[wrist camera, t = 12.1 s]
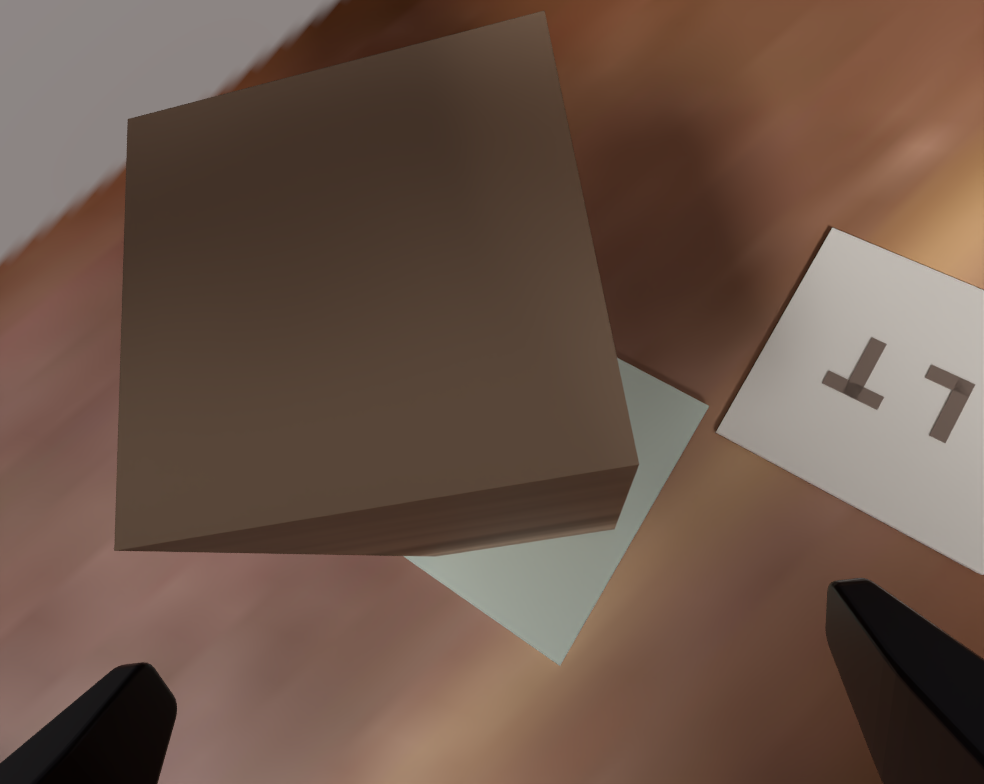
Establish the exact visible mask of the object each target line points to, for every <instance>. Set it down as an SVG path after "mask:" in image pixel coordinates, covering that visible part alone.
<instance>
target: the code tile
mask: <svg viewBox="0 0 984 784" xmlns="http://www.w3.org/2000/svg"><path fill="white" fill-rule="evenodd" d="M716 433H717V434H719V435H721V436H723V437H725V438H726V439H728V440H730V441H732V442H734V443H736V444H738V445H739V446H741V447H743V448H745V449H747V450H749V451H751V452H753V453H754V454H756V455H758V456H760V457H762V458H764V459H766V460H767V461H769V462H771V463H773V464H775V465H777V466H779V467H780V468H782V469H784V470H786V471H788V472H790V473H792V474H794V475H795V476H797V477H799V478H801V479H803V480H805V481H807V482H808V483H810V484H812V485H814V486H816V487H818V488H820V489H821V490H823V491H825V492H827V493H829V494H831V495H833V496H835V497H836V498H838V499H840V500H842V501H844V502H846V503H848V504H849V505H851V506H853V507H855V508H857V509H859V510H861V511H863V512H864V513H866V514H868V515H870V516H872V517H874V518H876V519H877V520H879V521H881V522H883V523H885V524H887V525H889V526H890V527H892V528H894V529H896V530H898V531H900V532H902V533H904V534H905V535H907V536H909V537H911V538H913V539H915V540H917V541H918V542H920V543H922V544H924V545H926V546H928V547H930V548H931V549H933V550H935V551H937V552H939V553H941V554H943V555H945V556H946V557H948V558H950V559H952V560H954V561H956V562H958V563H959V564H961V565H963V566H965V567H967V568H969V569H971V570H973V571H974V572H976V573H978V574H980V575H984V290H982V289H979V288H977V287H975V286H972V285H970V284H967V283H965V282H962V281H960V280H958V279H955V278H953V277H950V276H948V275H946V274H943V273H941V272H938V271H936V270H934V269H931V268H929V267H926V266H924V265H921V264H919V263H917V262H914V261H912V260H909V259H907V258H905V257H902V256H900V255H897V254H895V253H893V252H890V251H888V250H885V249H883V248H880V247H878V246H876V245H873V244H871V243H868V242H866V241H864V240H861V239H859V238H856V237H854V236H852V235H849V234H847V233H844V232H842V231H839V230H837V229H835V228H832V229H831V231H830V232H829V234H828V236H827V238H826V239H825V241H824V243H823V245H822V246H821V248H820V250H819V252H818V253H817V255H816V257H815V259H814V260H813V262H812V264H811V266H810V267H809V269H808V271H807V273H806V274H805V276H804V278H803V280H802V282H801V283H800V285H799V287H798V289H797V290H796V292H795V294H794V296H793V297H792V299H791V301H790V303H789V304H788V306H787V308H786V310H785V311H784V313H783V315H782V317H781V318H780V320H779V322H778V324H777V325H776V327H775V329H774V331H773V332H772V334H771V336H770V338H769V339H768V341H767V343H766V345H765V346H764V348H763V350H762V352H761V354H760V355H759V357H758V359H757V361H756V362H755V364H754V366H753V368H752V369H751V371H750V373H749V375H748V376H747V378H746V380H745V382H744V383H743V385H742V387H741V389H740V390H739V392H738V394H737V396H736V397H735V399H734V401H733V403H732V404H731V406H730V408H729V410H728V411H727V413H726V415H725V417H724V419H723V420H722V422H721V424H720V426H719V427H718V429H717V431H716Z"/></svg>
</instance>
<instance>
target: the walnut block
mask: <svg viewBox="0 0 984 784" xmlns="http://www.w3.org/2000/svg"><path fill="white" fill-rule="evenodd" d="M638 466H639V461H638V456H637V451H636V446H635V442H634V437H633V432H632V427H631V423H630V418H629V413H628V408H627V403H626V399H625V394H624V389H623V384H622V379H621V375H620V370H619V365H618V360H617V356H616V351H615V346H614V341H613V336H612V332H611V327H610V322H609V317H608V312H607V308H606V303H605V298H604V293H603V289H602V284H601V279H600V274H599V269H598V265H597V260H596V255H595V250H594V246H593V241H592V236H591V231H590V226H589V222H588V217H587V212H586V207H585V202H584V198H583V193H582V188H581V183H580V179H579V174H578V169H577V164H576V159H575V155H574V150H573V145H572V140H571V135H570V131H569V126H568V121H567V116H566V112H565V107H564V102H563V97H562V92H561V88H560V83H559V78H558V73H557V69H556V64H555V59H554V54H553V49H552V45H551V40H550V35H549V30H548V25H547V21H546V16H545V11H541V12H537V13H534V14H530V15H526V16H522V17H518V18H514V19H511V20H507V21H503V22H499V23H495V24H491V25H488V26H484V27H480V28H476V29H472V30H468V31H464V32H461V33H457V34H453V35H449V36H445V37H441V38H438V39H434V40H430V41H426V42H422V43H418V44H415V45H411V46H407V47H403V48H399V49H395V50H392V51H388V52H384V53H380V54H376V55H372V56H369V57H365V58H361V59H357V60H353V61H349V62H345V63H342V64H338V65H334V66H330V67H326V68H322V69H319V70H315V71H311V72H307V73H303V74H299V75H296V76H292V77H288V78H284V79H280V80H276V81H273V82H269V83H265V84H261V85H257V86H253V87H249V88H246V89H242V90H238V91H234V92H230V93H226V94H223V95H219V96H215V97H211V98H207V99H203V100H200V101H196V102H192V103H188V104H184V105H180V106H177V107H173V108H169V109H165V110H161V111H157V112H154V113H150V114H146V115H142V116H138V117H135V118H131V119H128V130H127V162H126V194H125V226H124V258H123V290H122V322H121V354H120V387H119V419H118V451H117V483H116V515H115V547H114V551H164V552H217V553H271V554H325V555H379V556H433V557H436V556H442V555H449V554H456V553H462V552H469V551H475V550H482V549H488V548H495V547H502V546H508V545H515V544H521V543H528V542H535V541H541V540H548V539H554V538H561V537H567V536H574V535H581V534H587V533H594V532H600V531H607V530H613V529H615V527H616V524H617V522H618V519H619V516H620V514H621V511H622V508H623V506H624V503H625V500H626V498H627V495H628V493H629V490H630V487H631V485H632V482H633V479H634V477H635V474H636V472H637V469H638Z"/></svg>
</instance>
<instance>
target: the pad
mask: <svg viewBox="0 0 984 784" xmlns="http://www.w3.org/2000/svg"><path fill="white" fill-rule="evenodd" d="M617 360H618V365H619V370H620V375H621V379H622V384H623V389H624V394H625V399H626V403H627V408H628V413H629V418H630V423H631V427H632V432H633V437H634V442H635V446H636V451H637V456H638V461H639V466H638V469H637V472H636V474H635V477H634V479H633V482H632V485H631V487H630V490H629V493H628V495H627V498H626V500H625V503H624V506H623V508H622V511H621V514H620V516H619V519H618V522H617V524H616V527H615V529H613V530H607V531H600V532H594V533H587V534H581V535H574V536H567V537H561V538H554V539H548V540H541V541H535V542H528V543H521V544H515V545H508V546H502V547H495V548H488V549H482V550H475V551H469V552H462V553H456V554H449V555H442V556H436V557H433V556H404V557H405V558H407V559H408V560H410V561H411V562H412V563H414V564H415V565H417V566H418V567H419V568H421V569H422V570H424V571H425V572H427V573H428V574H429V575H431V576H432V577H434V578H435V579H437V580H438V581H439V582H441V583H442V584H444V585H445V586H447V587H448V588H449V589H451V590H452V591H454V592H455V593H457V594H458V595H459V596H461V597H462V598H464V599H465V600H467V601H468V602H469V603H471V604H472V605H474V606H475V607H477V608H478V609H479V610H481V611H482V612H484V613H485V614H487V615H488V616H489V617H491V618H492V619H494V620H495V621H497V622H498V623H499V624H501V625H502V626H504V627H505V628H507V629H508V630H509V631H511V632H512V633H514V634H515V635H517V636H518V637H519V638H521V639H522V640H524V641H525V642H527V643H528V644H529V645H531V646H532V647H534V648H535V649H537V650H538V651H539V652H541V653H542V654H544V655H545V656H546V657H548V658H549V659H551V660H552V661H554V662H555V663H556V664H558V665H559V666H560V665H561V663H562V661H563V660H564V658H565V656H566V654H567V653H568V651H569V649H570V647H571V646H572V644H573V642H574V641H575V639H576V637H577V635H578V634H579V632H580V630H581V628H582V627H583V625H584V623H585V621H586V620H587V618H588V616H589V614H590V613H591V611H592V609H593V607H594V606H595V604H596V602H597V601H598V599H599V597H600V595H601V594H602V592H603V590H604V588H605V587H606V585H607V583H608V581H609V580H610V578H611V576H612V574H613V573H614V571H615V569H616V567H617V566H618V564H619V562H620V560H621V559H622V557H623V555H624V554H625V552H626V550H627V548H628V547H629V545H630V543H631V541H632V540H633V538H634V536H635V534H636V533H637V531H638V529H639V527H640V526H641V524H642V522H643V520H644V519H645V517H646V515H647V513H648V512H649V510H650V508H651V507H652V505H653V503H654V501H655V500H656V498H657V496H658V494H659V493H660V491H661V489H662V487H663V486H664V484H665V482H666V480H667V479H668V477H669V475H670V473H671V472H672V470H673V468H674V467H675V465H676V463H677V461H678V460H679V458H680V456H681V454H682V453H683V451H684V449H685V447H686V446H687V444H688V442H689V440H690V439H691V437H692V435H693V433H694V432H695V430H696V428H697V426H698V425H699V423H700V421H701V420H702V418H703V416H704V414H705V413H706V411H707V409H708V407H709V406H708V405H706V404H704V403H702V402H700V401H698V400H697V399H695V398H693V397H691V396H689V395H687V394H685V393H683V392H681V391H679V390H678V389H676V388H674V387H672V386H670V385H668V384H666V383H664V382H662V381H660V380H659V379H657V378H655V377H653V376H651V375H649V374H647V373H645V372H643V371H641V370H639V369H638V368H636V367H634V366H632V365H630V364H628V363H626V362H624V361H622V360H620V359H619V358H617Z"/></svg>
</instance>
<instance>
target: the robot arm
mask: <svg viewBox="0 0 984 784" xmlns="http://www.w3.org/2000/svg"><path fill="white" fill-rule="evenodd" d="M826 636H827V641H828V644H829V648H830V650H831V653H832V656H833V658H834V661H835V663H836V666H837V668H838V671H839V673H840V676H841V679H842V681H843V684H844V686H845V689H846V691H847V694H848V697H849V699H850V702H851V704H852V707H853V709H854V712H855V714H856V717H857V720H858V722H859V725H860V727H861V730H862V732H863V735H864V738H865V740H866V743H867V745H868V748H869V750H870V753H871V755H872V758H873V760H874V763H875V765H876V768H877V770H878V773H879V775H880V777H881V780H882V782H883V784H984V659H983V658H981V657H980V656H978V655H977V654H976V653H974V652H973V651H971V650H970V649H968V648H967V647H966V646H964V645H963V644H961V643H960V642H958V641H957V640H955V639H954V638H953V637H951V636H950V635H948V634H947V633H945V632H944V631H943V630H941V629H940V628H938V627H937V626H935V625H934V624H933V623H931V622H930V621H928V620H927V619H925V618H924V617H923V616H921V615H920V614H918V613H917V612H915V611H914V610H913V609H911V608H910V607H908V606H907V605H905V604H904V603H903V602H901V601H900V600H898V599H897V598H895V597H894V596H892V595H891V594H890V593H888V592H887V591H885V590H884V589H882V588H881V587H880V586H878V585H877V584H875V583H874V582H872V581H870V580H868V579H865V578H855V579H847V580H838V581H833V582H831V583H830V585H829V586H828V591H827V608H826ZM176 715H177V703H176V699H175V697H174V695H173V694H172V692H171V691H170V690H169V688H168V687H167V685H166V684H165V682H164V681H163V680H162V678H161V677H160V675H159V674H158V672H157V671H156V670H155V668H154V667H153V666H152V665H151V664H148V663H144V662H142V663H134V664H125V665H121V666H118V667H116V668H114V669H113V670H112V671H110V672H109V673H108V674H107V675H106V676H104V677H103V678H102V679H101V680H100V681H98V682H97V683H96V684H95V685H94V686H92V687H91V688H90V689H89V690H88V691H86V692H85V693H84V694H83V695H82V696H80V697H79V698H78V699H77V700H76V701H74V702H73V703H72V704H71V705H70V706H68V707H67V708H66V709H65V710H64V711H62V712H61V713H60V714H59V715H58V716H56V717H55V718H54V719H53V720H52V721H50V722H49V723H48V724H47V725H46V726H44V727H43V728H42V729H41V730H40V731H38V732H37V733H36V734H35V735H34V736H32V737H31V738H30V739H29V740H28V741H26V742H25V743H24V744H23V745H22V746H20V747H19V748H18V749H17V750H16V751H15V752H13V753H12V754H11V755H10V756H9V757H7V758H6V759H5V760H4V761H3V762H1V763H0V784H157V783H158V780H159V776H160V773H161V769H162V766H163V762H164V758H165V755H166V751H167V748H168V744H169V741H170V737H171V733H172V730H173V726H174V723H175V719H176Z"/></svg>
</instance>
